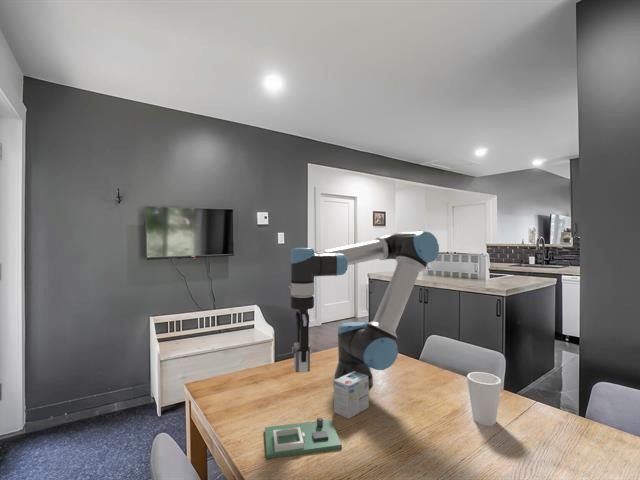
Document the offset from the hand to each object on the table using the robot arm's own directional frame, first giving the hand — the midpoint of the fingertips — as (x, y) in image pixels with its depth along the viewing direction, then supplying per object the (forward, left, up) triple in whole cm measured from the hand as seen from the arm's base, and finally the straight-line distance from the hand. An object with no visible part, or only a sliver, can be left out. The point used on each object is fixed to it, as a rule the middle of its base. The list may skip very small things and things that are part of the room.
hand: (302, 368), depth 108 cm
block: (0, 0, 0) cm, 0 cm away
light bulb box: (-16, 0, -15) cm, 22 cm away
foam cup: (-54, +15, -15) cm, 58 cm away
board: (+2, +13, -15) cm, 20 cm away
